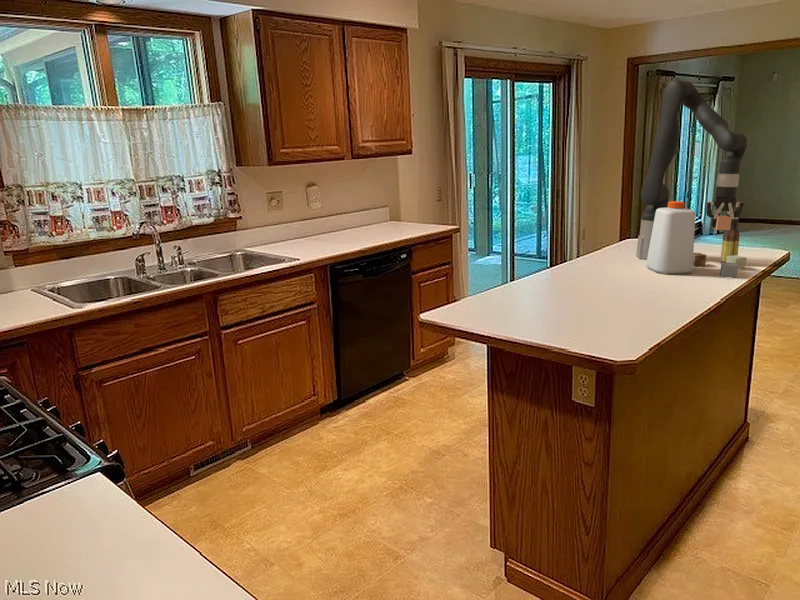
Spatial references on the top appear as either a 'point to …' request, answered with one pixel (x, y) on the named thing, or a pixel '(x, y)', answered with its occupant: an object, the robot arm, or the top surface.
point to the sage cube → (737, 261)
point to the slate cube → (729, 270)
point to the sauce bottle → (730, 241)
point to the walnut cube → (699, 259)
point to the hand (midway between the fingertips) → (721, 227)
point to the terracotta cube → (723, 223)
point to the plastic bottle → (672, 240)
